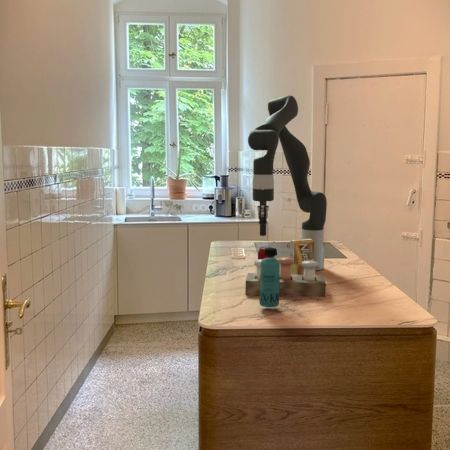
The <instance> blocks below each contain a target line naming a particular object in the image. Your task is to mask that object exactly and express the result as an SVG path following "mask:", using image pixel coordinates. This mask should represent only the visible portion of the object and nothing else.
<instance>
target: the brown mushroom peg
mask: <svg viewBox="0 0 450 450" xmlns="http://www.w3.org/2000/svg"><path fill="white" fill-rule="evenodd" d="M277 260H278V261H279V262H280V280H291V264H293V263H294V259H293V258H290V256H289V257H287V256H285V257H282V256H281V257H277Z"/></svg>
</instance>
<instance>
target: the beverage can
mask: <svg viewBox="0 0 450 450" xmlns="http://www.w3.org/2000/svg"><path fill="white" fill-rule="evenodd" d="M265 248H274V247H273V246H260V247H259V249H258V250H257V260H259V259H264V258H276V256H266V255H264V251H265Z"/></svg>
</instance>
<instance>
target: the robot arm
mask: <svg viewBox="0 0 450 450" xmlns="http://www.w3.org/2000/svg"><path fill="white" fill-rule="evenodd" d="M267 111H268V115H269V116H268V117H267V118H266V119H265V120H264V121H263V123H262V124H260V125H259V126H257V127H255V128H253V129H252V130H251V132H249V135H248V138H247V144H248V146H249V148H250V149H251V150H253V151H266V153H265V155H262V156H259V157H256V158H254V159H253V172H252V174H253V175H252V177H253V178H252V201H253V202H259V205H257V206H256V207H257V208H256V209H257V210H256V211H257V219H258V225H259V236H261V237H266V235H267V225H268V223H267V222H268V218H269V210H270V207H269V205H267V203H268V202H272V201H274V200H275V199H274V197H275V196H274V195H275V192H274V191H275V178H274V162H275V155H276V152H277V148H278V147H279V144H280V145H281V148H282V152H283V155H284V158H285V162H286V165H287V167H288V169H289V173H290V176H291V180H292V182H293V187H294V191H295V195H296V196H295V197H296V201H297V204H298V206H299V209H300V210H301V211H302V212H304V213H307V214H309V218H308V219H307V220H305V221H302V223H301V239H312V240H314V261H316V262H318V266H317V267H316V268H315V271H321V270H323V269H325V249H326V248H325V246H324V227H325V224H326V218H327V206H328V203H327V197H326V195H325V194H324V193H323V192H320V191H312V190H311V188H310V185H309V181H308V176H309V171H310V165H311V160H310V157H309V154H308V151H307V148H306V146H305V145H304V143H303V142H302V141H301V140H300V139H298V138H297V137H296V136H295V135H294V134H293V133H291V132H290V130H289V129H288V127H286V126H287V125H288V124H289V123H290V122H291V121H292V120H294V119H295V118H296V117H297V116H298V113H299V106H298V101H297V99H296V98H295V97H294V96H293V95H290V94H289V95H284V96H280V97H276V98H273V99H270V100H269V101H268V102H267Z"/></svg>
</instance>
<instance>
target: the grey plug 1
mask: <svg viewBox="0 0 450 450" xmlns="http://www.w3.org/2000/svg"><path fill="white" fill-rule="evenodd" d="M262 260H263V259H259V260H258V259H255V260H254V261H253V262H254V264H253V265H254V266H255V267H256V272H255V273H256V279H260V273H261V261H262Z"/></svg>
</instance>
